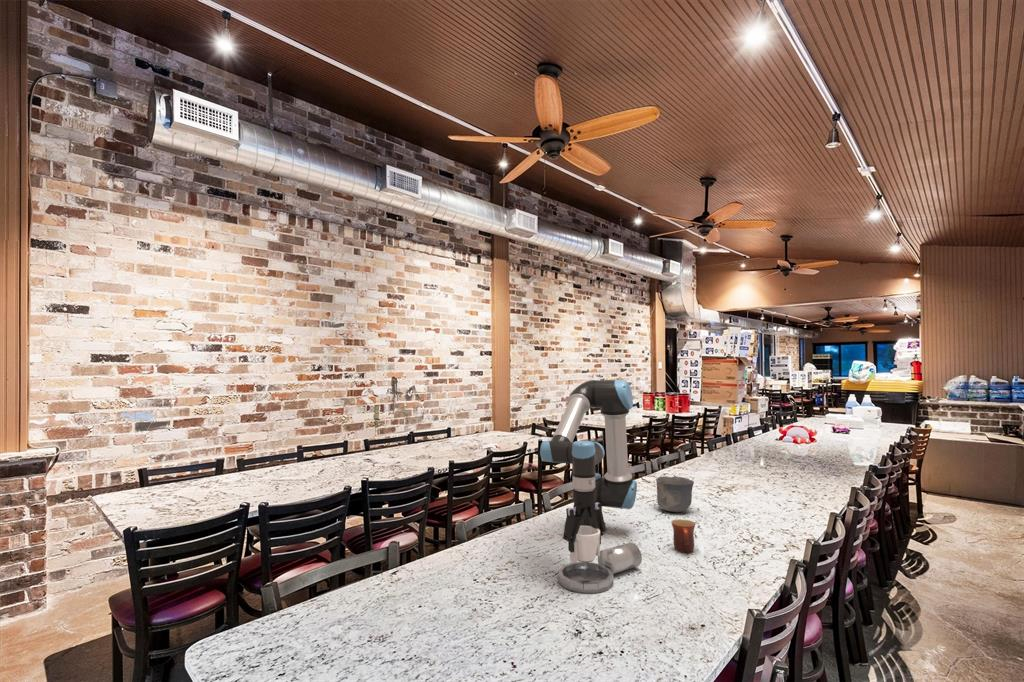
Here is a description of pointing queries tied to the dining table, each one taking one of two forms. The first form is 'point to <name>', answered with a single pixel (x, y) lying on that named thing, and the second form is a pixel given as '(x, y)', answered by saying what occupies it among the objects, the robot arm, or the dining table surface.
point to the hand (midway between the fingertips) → (585, 558)
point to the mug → (683, 535)
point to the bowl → (674, 493)
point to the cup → (587, 543)
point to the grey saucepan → (599, 570)
